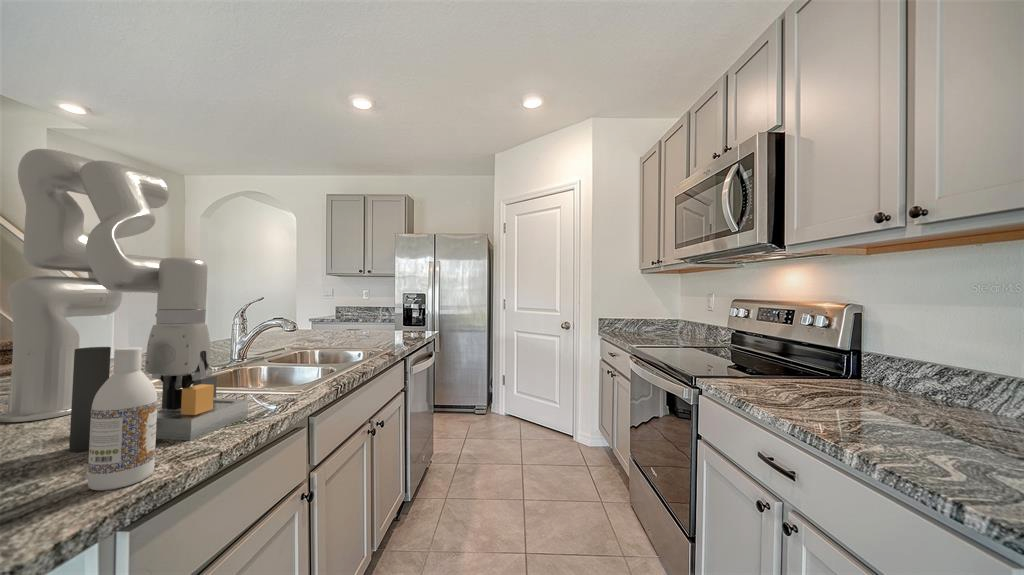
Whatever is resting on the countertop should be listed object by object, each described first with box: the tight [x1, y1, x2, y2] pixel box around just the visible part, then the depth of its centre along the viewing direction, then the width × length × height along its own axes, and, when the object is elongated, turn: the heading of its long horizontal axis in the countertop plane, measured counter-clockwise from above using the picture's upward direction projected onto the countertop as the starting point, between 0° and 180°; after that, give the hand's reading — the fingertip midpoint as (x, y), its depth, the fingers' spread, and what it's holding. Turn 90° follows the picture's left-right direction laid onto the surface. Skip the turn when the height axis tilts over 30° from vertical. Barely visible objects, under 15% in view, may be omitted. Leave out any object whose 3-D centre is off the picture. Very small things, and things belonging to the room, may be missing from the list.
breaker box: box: [156, 397, 249, 441], centre depth 78 cm, size 12×14×4 cm
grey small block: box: [193, 374, 218, 398], centre depth 83 cm, size 3×4×5 cm
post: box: [68, 346, 112, 453], centre depth 67 cm, size 4×4×18 cm
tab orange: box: [181, 384, 214, 415], centre depth 75 cm, size 3×4×5 cm
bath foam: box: [87, 346, 158, 491], centre depth 56 cm, size 7×7×20 cm
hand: (177, 407), depth 75 cm, fingers closed
